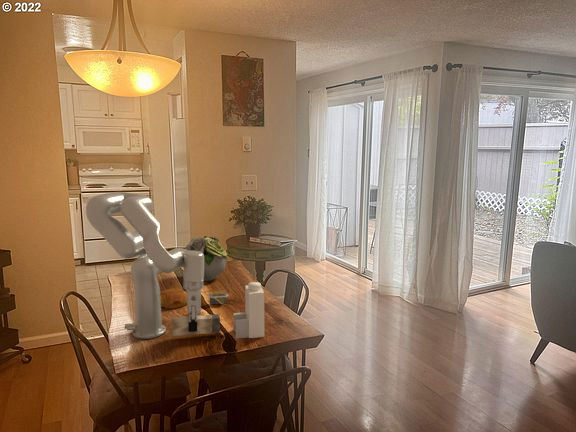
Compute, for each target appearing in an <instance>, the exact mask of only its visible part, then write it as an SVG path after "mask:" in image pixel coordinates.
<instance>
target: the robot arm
mask: <svg viewBox="0 0 576 432" xmlns="http://www.w3.org/2000/svg"><path fill="white" fill-rule="evenodd" d="M153 211H154V202H153V200H152V199H151V198H150V197H149V196H148V195H145V194H138V193H131V192H125V191H123V192H122V191H114V192H108V193H102V194H96V195H95V196H92V197H91V198H90V199H89V200H88V201H87V203H86V206H85V214H86V219H87V220H88V222H89V224H90V225H91V226H92V228H93V229H95V230H96V232H98V233H99V234H100V235H101V236H102V237H103V238H104V239H105V240H106V242H107V243H108V245H110V246H111V248H113V250H115V252H116V253H117V254H118V255H119V256H120V257H121V258H123V259H127V260H129V259H133V258H135V257H137V256H138V257H137V258H135V259H134V260H133V261H132V263H131V266H130V275H131V277H132V281H133V291H134V302H135V303H134V304H135V321H133V322H132V323H130V322H129V323H124V329H125V330H126V331H132V336H133V337H134V338H137V339H139V340H141V339H142V340H146V339H147V340H148V339H154V338H157V337H160V336H162V335H164V334H165V332H166V331H167V327H166V325H164V324H162V307H161V299H160V293H161V287H160V283H159V281H158V278H157V276H159V275H161V274H162V273H165V274H171V273H173V272H175V271H178V269H181V268H183V279H182V280H183V282H182V284H183V289H184V291H186V292H187V305H186V311H187V315H188V316H189V332H196V331H197V316H200V315H201V314H202V309H201V308H202V290H203V289H204V283H205V282H204V254H203V253H202V252H199V251H190V250H186V249H185V248H182V247H175V248H172V249H171V250H169V251H168V250H167V249H166V248H165V247H164V246H163V244H162V243H161V241H160V237H159V233H160V230H161V227H162V225H161V222H159V220H158V219H157V218H156V217H155V215H153V213H152V212H153ZM120 213H121V215H122V216H123V217H124V218H125V220H127V222H128V223H129V225H130V226H132V227H133V229H134V230H135V231H132V232H131V231H130V230H129V229H127V227H126V226H125V225H124V224H123V223H122V222H121V221H120V220H118V219H116V218H115V217H113V216H112V215H116V214H120ZM191 316H192V317H191Z"/></svg>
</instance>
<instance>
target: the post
mask: <svg viewBox="0 0 576 432" xmlns="http://www.w3.org/2000/svg"><path fill="white" fill-rule="evenodd" d="M244 289H245V291H244V292H245V299H244V302H245V309H244V310H245V312H235V313H234V312H233V331H234V332H235V339H245V338H249V339H255V338H256V339H257V338H264V337H265V292H264V289H263V287H262V284H261V282H257V281H253V282H252V281H251V282H249V283H248V284H247V285H244Z"/></svg>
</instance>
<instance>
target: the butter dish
mask: <svg viewBox="0 0 576 432" xmlns="http://www.w3.org/2000/svg"><path fill="white" fill-rule="evenodd" d="M229 295H230V294H229V293H228V292H226V291H223V290H218V291H217V290H216V291H212V293H207V294H206V296H207V297H208V298H209V305H216V304H217V305H219V304H220V305H224V304H227V302H228V300H227V299H228V298H227V297H228V296H229Z"/></svg>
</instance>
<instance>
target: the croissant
mask: <svg viewBox="0 0 576 432" xmlns="http://www.w3.org/2000/svg"><path fill="white" fill-rule="evenodd" d="M160 299H161V308H164V309H165V310H167V309H169V310H171V309H172V310H173V309H179V308H182V307H184V306H187V291H186V290H183V289H182V288H178V287H176V288H174V287H173V288H170V289H169V288H168V289H164V290H162V291H160Z"/></svg>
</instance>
